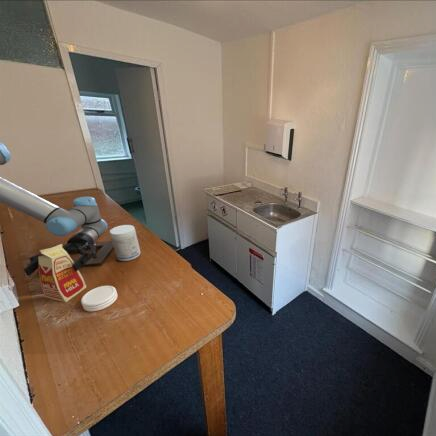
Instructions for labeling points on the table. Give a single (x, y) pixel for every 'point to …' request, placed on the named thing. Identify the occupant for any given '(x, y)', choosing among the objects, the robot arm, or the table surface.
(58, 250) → the milk carton
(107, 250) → the holder board
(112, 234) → the supplement tub
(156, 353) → the table surface
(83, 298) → the coaster
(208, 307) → the table surface
